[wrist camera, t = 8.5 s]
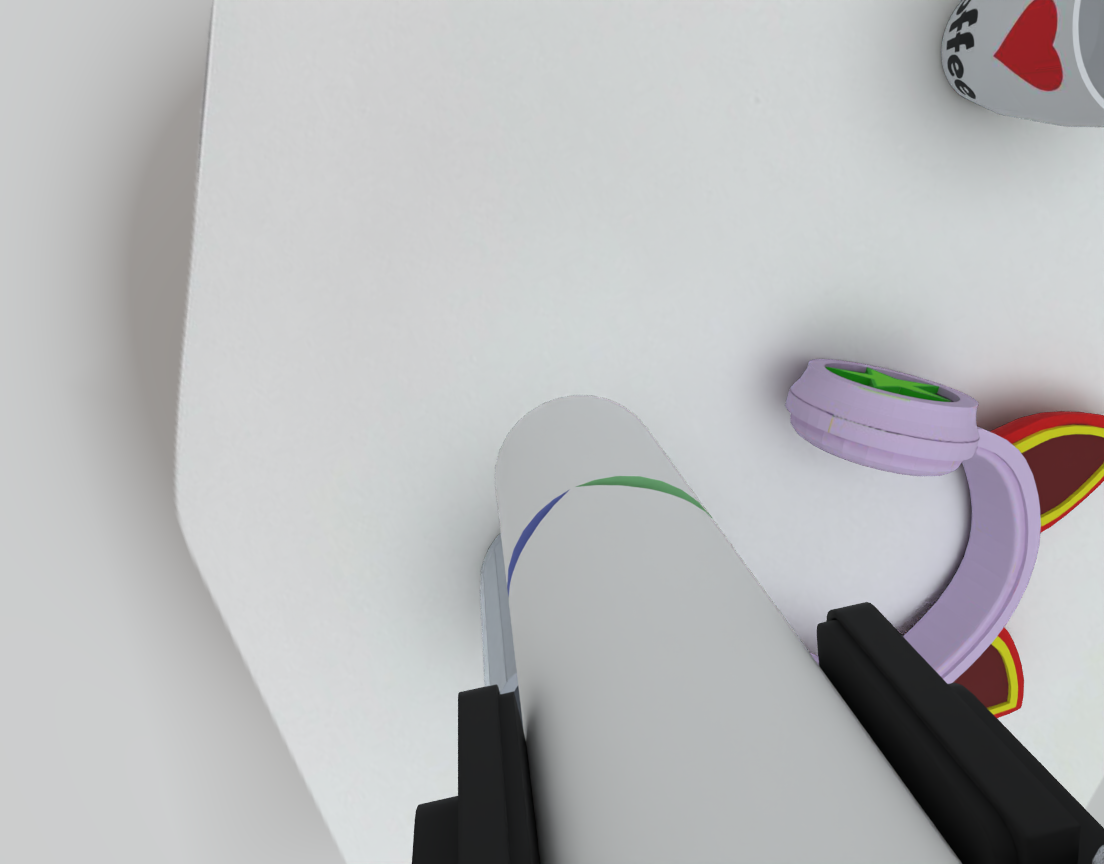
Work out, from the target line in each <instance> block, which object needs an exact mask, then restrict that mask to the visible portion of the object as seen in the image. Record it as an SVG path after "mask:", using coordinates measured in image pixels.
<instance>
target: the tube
mask: <svg viewBox="0 0 1104 864" xmlns="http://www.w3.org/2000/svg"><path fill="white" fill-rule="evenodd" d="M495 488H496V497H497V505H498V514H499V522H500V531H501V540H502V548H503V557H504V565H505V574H506V582H507V590H508V596H509V608H510V617H511V626H512V635H513V643H514V652H515V661H516V669H517V678H518V687H519V695H520V704H521V713H522V721H523V730H524V735H525V739H526V745H527V754H528V762H529V771H530V779H531V788H532V796H533V805H534V813H535V822H536V830H537V839H538V847H539V856H540V864H962V863H961V861H960V860H959V858H958V857H957V856H956V854H955V853H954V852H953V850H952V849H951V847H950V846H949V845H948V843H947V842H946V840H945V839H944V838H943V836H942V835H941V834H940V832H939V831H938V829H937V828H936V827H935V825H934V824H933V822H932V821H931V820H930V818H929V817H928V816H927V814H926V813H925V811H924V810H923V809H922V807H921V806H920V805H919V803H918V802H917V800H916V799H915V798H914V796H913V795H912V793H911V792H910V791H909V789H908V788H907V787H906V785H905V784H904V782H903V781H902V780H901V778H900V777H899V775H898V774H897V773H896V771H895V770H894V769H893V767H892V766H891V764H890V763H889V762H888V760H887V759H886V758H885V756H884V755H883V753H882V752H881V751H880V749H879V748H878V746H877V745H876V744H875V742H874V741H873V740H872V738H871V737H870V735H869V734H868V733H867V731H866V730H865V728H864V727H863V726H862V724H861V723H860V722H859V720H858V719H857V717H856V716H855V715H854V713H853V712H852V711H851V709H850V708H849V706H848V705H847V704H846V702H845V701H844V699H843V698H842V697H841V695H840V694H839V693H838V691H837V690H836V688H835V687H834V686H833V684H832V683H831V681H830V680H829V679H828V677H827V676H826V675H825V673H824V672H823V670H822V669H821V668H820V666H819V665H818V663H817V662H816V661H815V659H814V658H813V657H812V655H811V654H810V652H809V651H808V650H807V648H806V647H805V646H804V644H803V643H802V641H801V640H800V639H799V637H798V636H797V634H796V633H795V632H794V630H793V629H792V628H791V626H790V625H789V623H788V622H787V621H786V619H785V618H784V616H783V615H782V614H781V612H780V611H779V610H778V608H777V607H776V605H775V604H774V603H773V601H772V600H771V599H770V597H769V596H768V594H767V593H766V592H765V590H764V589H763V587H762V586H761V585H760V583H759V582H758V581H757V579H756V578H755V576H754V575H753V574H752V572H751V571H750V569H749V568H748V567H747V565H746V564H745V563H744V561H743V560H742V558H741V557H740V556H739V554H738V553H737V552H736V550H735V549H734V547H733V546H732V545H731V543H730V542H729V540H728V539H727V538H726V536H725V535H724V534H723V532H722V531H721V529H720V528H719V527H718V525H717V524H716V522H715V521H714V520H713V519H712V517H711V516H710V514H709V513H708V511H707V510H706V509H705V507H704V506H703V505H702V503H701V502H700V500H699V499H698V498H697V496H696V495H695V493H694V492H693V491H692V489H691V488H690V487H689V485H688V484H687V482H686V481H685V480H684V478H683V477H682V475H681V474H680V473H679V471H678V470H677V469H676V467H675V466H674V464H673V463H672V462H671V460H670V459H669V458H668V456H667V455H666V453H665V452H664V451H663V449H662V448H661V446H660V445H659V444H658V442H657V441H656V440H655V438H654V437H653V435H652V434H651V433H650V431H649V430H648V428H647V427H646V426H645V425H644V424H643V423H642V421H641V420H640V419H639V418H638V417H637V416H636V415H635V414H634V413H632V412H631V411H630V410H628V409H627V408H626V407H624V406H622V405H620V404H618V403H616V402H614V401H611V400H609V399H605V398H601V397H597V396H592V395H573V396H567V397H561V398H557V399H554V400H551V401H549V402H546V403H543V404H542V405H540V406H538V407H536V408H535V409H533V410H531V411H530V412H529V413H527V414H526V415H525V416H524V417H523V418H521V419H520V420H519V421H518V422H517V423H516V424H515V426H514V427H513V428H512V429H511V431H510V432H509V433H508V434H507V436H506V438H505V440H504V442H503V444H502V446H501V448H500V450H499V454H498V458H497V462H496V465H495Z"/></svg>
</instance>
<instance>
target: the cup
mask: <svg viewBox="0 0 1104 864" xmlns="http://www.w3.org/2000/svg"><path fill="white" fill-rule="evenodd" d="M941 55H942V65H943V69H944V72H945V75H946V78H947V80H948V81H949V83H950V85H951V86H952V87H953V89H954V90H955V91H956V92H957V93H958V94H960V95H961V96H962V97H964V98H966V99H968V100H970V101H972V102H974V103H976V104H979V105H981V106H983V107H985V108H987V109H989V110H991V111H993V112H995V113H998V114H1001V115H1005V116H1010V117H1015V118H1021V119H1026V120H1032V121H1037V122H1043V123H1048V124H1054V125H1059V126H1071V127H1104V0H962V2H961V3H960V4H959V5H958V6H957V8H956V9H955V11H954V12H953V14H952V15H951V17H950V19H949V21H948V24H947V26H946V29H945V32H944V36H943V41H942V50H941Z"/></svg>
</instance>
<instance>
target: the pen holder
mask: <svg viewBox="0 0 1104 864" xmlns="http://www.w3.org/2000/svg"><path fill="white" fill-rule="evenodd" d="M480 585H481V588H480V601H481V621H482V642H483V662H484V682H485V687H486V686H491V685H495V684H497V685H498V688H499V691H500V694H504V693H509V692H513V691H514V694H515V697H516V701H517V705H518V710H519V714H520V718H521V722H522V727H523V721H522V713H521V704H520V695H519V687H518V678H517V669H516V661H515V652H514V643H513V635H512V626H511V617H510V608H509V596H508V590H507V582H506V574H505V565H504V557H503V548H502V540H501V533H500V534H499V535H498V536H497V537H496V539H495V540H494V541H493V543H492V544H491V546H490V547H489V549H488V551H487V553H486V555H485V558H484V561H483V564H482V569H481V580H480ZM523 731H524V730H523Z"/></svg>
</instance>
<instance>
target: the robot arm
mask: <svg viewBox="0 0 1104 864" xmlns="http://www.w3.org/2000/svg"><path fill="white" fill-rule="evenodd" d="M817 644H818V659H819V666H820V668H821V669H822V670H823V672H824V673H825V675H826V676H827V677H828V679H829V680H830V681H831V683H832V684H833V686H834V687H835V688H836V690H837V691H838V693H839V694H840V695H841V697H842V698H843V699H844V701H845V702H846V704H847V705H848V706H849V708H850V709H851V711H852V712H853V713H854V715H855V716H856V717H857V719H858V720H859V722H860V723H861V724H862V726H863V727H864V728H865V730H866V731H867V733H868V734H869V735H870V737H871V738H872V740H873V741H874V742H875V744H876V745H877V746H878V748H879V749H880V751H881V752H882V753H883V755H884V756H885V758H886V759H887V760H888V762H889V763H890V764H891V766H892V767H893V769H894V770H895V771H896V773H897V774H898V775H899V777H900V778H901V780H902V781H903V782H904V784H905V785H906V787H907V788H908V789H909V791H910V792H911V793H912V795H913V796H914V798H915V799H916V800H917V802H918V803H919V805H920V806H921V807H922V809H923V810H924V811H925V813H926V814H927V816H928V817H929V818H930V820H931V821H932V822H933V824H934V825H935V827H936V828H937V829H938V831H939V832H940V834H941V835H942V836H943V838H944V839H945V840H946V842H947V843H948V845H949V846H950V847H951V849H952V850H953V852H954V853H955V854H956V856H957V857H958V858H959V860H960V861H961V863H962V864H1104V828H1103V827H1102V826H1101V825H1100V824H1099V823H1098V822H1097V821H1096V820H1095V819H1094V818H1093V817H1092V816H1091V815H1090V814H1089V813H1088V812H1087V811H1086V810H1085V809H1084V807H1083V806H1082V805H1081V804H1080V803H1079V802H1078V801H1077V800H1076V799H1075V798H1074V797H1073V796H1072V795H1071V794H1070V793H1069V792H1068V791H1067V790H1066V789H1065V788H1064V787H1063V786H1062V785H1061V784H1060V783H1059V782H1058V781H1057V780H1056V779H1055V778H1054V777H1053V776H1052V775H1051V774H1050V773H1049V772H1048V770H1047V769H1046V768H1045V767H1044V766H1043V765H1042V764H1041V763H1040V762H1039V761H1038V760H1037V759H1036V758H1035V757H1034V756H1033V755H1032V754H1031V753H1030V752H1029V751H1028V750H1027V749H1026V748H1025V747H1024V746H1023V745H1022V744H1021V743H1020V742H1019V741H1018V740H1017V739H1016V738H1015V737H1014V736H1013V735H1012V733H1011V732H1010V731H1009V730H1008V729H1007V728H1006V727H1005V726H1004V725H1003V724H1002V723H1001V722H1000V721H999V720H998V719H997V718H996V717H995V716H994V715H993V714H992V713H991V712H990V711H989V710H988V709H987V708H986V707H985V706H984V705H983V704H982V703H981V702H980V701H979V700H978V699H977V697H976V696H975V695H974V694H973V693H972V692H970V691H969V690H968V689H967V688H965V687H964V686H963V685H961V684H958V683H950V684H947V683H946V682H945V681H944V679H943V678H942V677H941V676H940V675H939V674H938V673H937V672H936V671H935V670H934V669H933V668H932V667H931V666H930V665H929V664H928V663H927V661H926V660H925V659H924V658H923V657H922V656H921V655H920V654H919V653H918V652H917V651H916V650H915V649H914V648H913V647H912V646H911V644H910V643H909V642H908V641H907V640H906V639H905V638H904V637H903V636H902V635H901V634H900V633H899V632H898V631H897V630H896V629H895V628H894V626H893V625H892V624H891V623H890V622H889V621H888V620H887V619H886V618H885V617H884V616H883V615H882V614H881V613H880V612H879V611H878V609H877V608H876V607H875V606H873V605H872V604H871V603H868V602H865V603H861V604H856V605H852V606H847V607H843V608H838V609H834V610H830V611H829V612H828V614H827V622H823V623H819V624H818V626H817ZM412 864H540V856H539V847H538V839H537V830H536V822H535V813H534V805H533V796H532V788H531V779H530V771H529V762H528V754H527V745H526V739H525V735H524V731H523V727H522V722H521V718H520V714H519V710H518V705H517V701H516V697H515V694H514V691H513V692H509V693H504V694H500V691H499V688H498V685H497V684H495V685H491V686H486V687H482V688H477V689H473V690H468V691H464V692H459V694H458V796H455V797H451V798H446V799H442V800H438V801H433V802H429V803H424V804H420V805H418V807H417V810H416V816H415V826H414V841H413V856H412Z"/></svg>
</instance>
